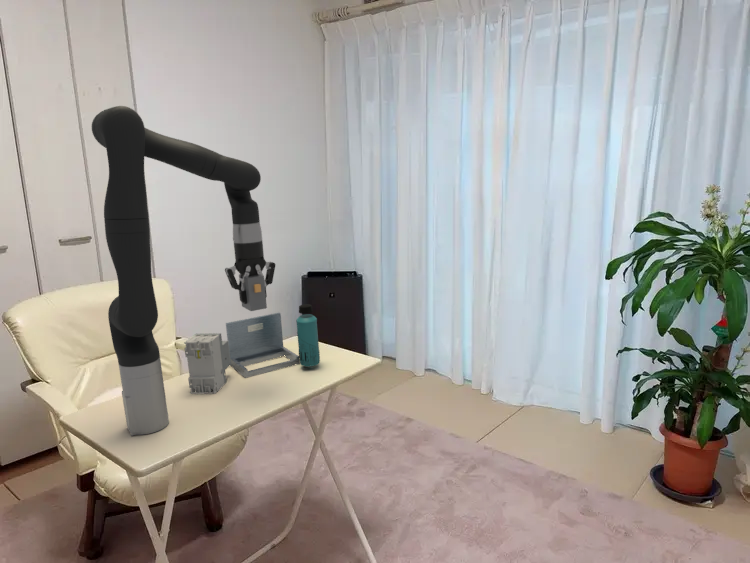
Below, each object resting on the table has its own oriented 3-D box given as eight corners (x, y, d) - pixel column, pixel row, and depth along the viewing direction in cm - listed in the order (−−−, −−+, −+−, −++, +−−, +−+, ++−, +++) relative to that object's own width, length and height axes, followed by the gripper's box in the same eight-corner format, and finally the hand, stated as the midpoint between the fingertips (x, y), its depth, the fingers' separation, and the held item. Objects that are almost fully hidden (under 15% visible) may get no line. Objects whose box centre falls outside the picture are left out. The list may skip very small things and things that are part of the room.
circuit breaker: (233, 373, 165) (228, 326, 162) (215, 393, 151) (209, 342, 148) (210, 374, 166) (204, 327, 163) (190, 393, 152) (183, 342, 149)
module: (252, 311, 144) (248, 278, 142) (241, 306, 150) (238, 274, 149) (267, 308, 146) (265, 276, 144) (257, 303, 153) (254, 272, 151)
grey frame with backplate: (245, 377, 162) (240, 333, 159) (230, 365, 173) (225, 323, 170) (299, 363, 171) (296, 321, 168) (282, 352, 182) (279, 312, 179)
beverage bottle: (323, 363, 170) (318, 302, 166) (317, 371, 164) (313, 307, 160) (302, 363, 171) (298, 302, 167) (296, 371, 165) (291, 308, 161)
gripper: (226, 244, 138) (232, 309, 142) (278, 238, 145) (283, 299, 149) (217, 241, 144) (223, 303, 148) (267, 235, 152) (272, 295, 155)
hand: (253, 301), depth 148 cm, fingers closed on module, 4 cm apart
